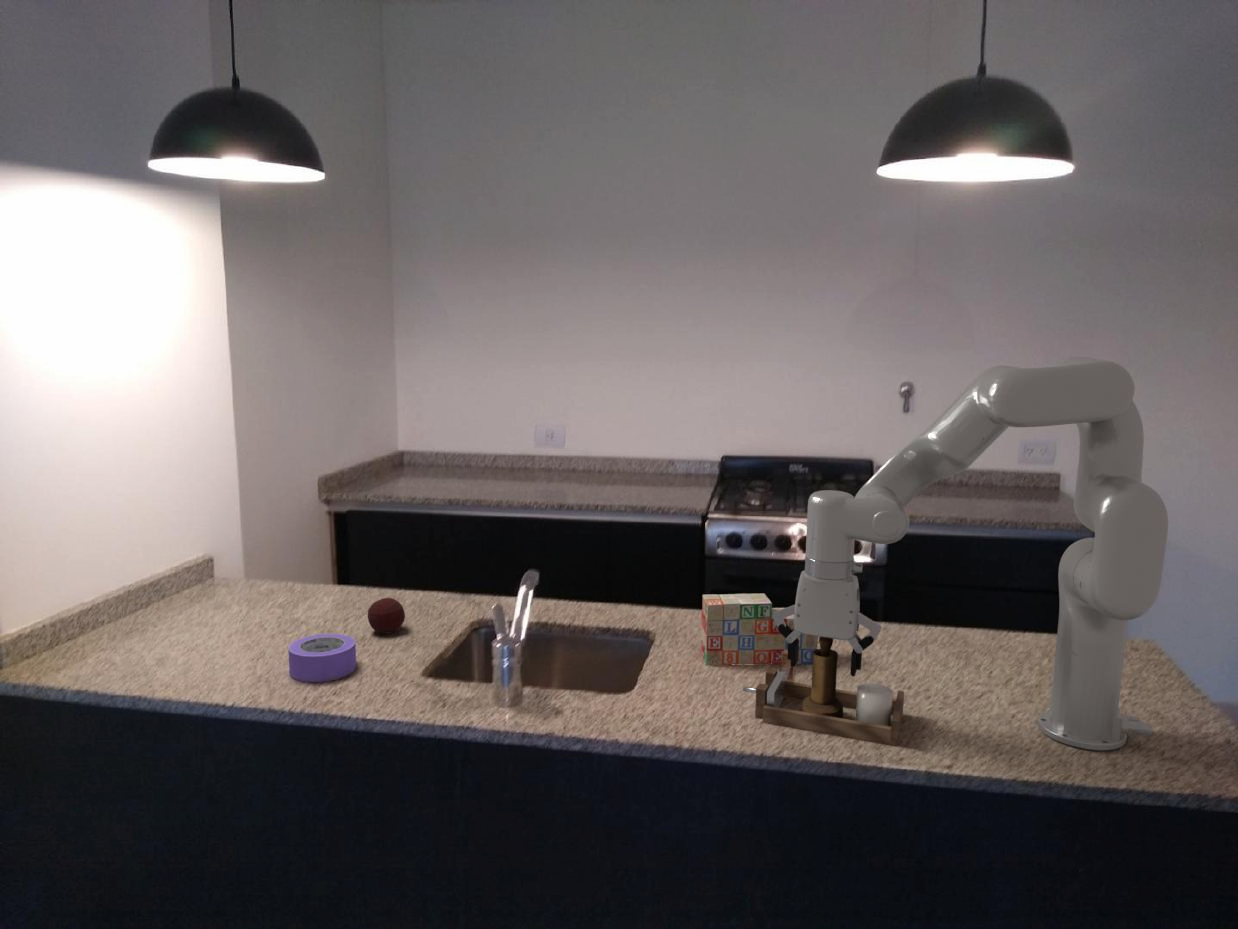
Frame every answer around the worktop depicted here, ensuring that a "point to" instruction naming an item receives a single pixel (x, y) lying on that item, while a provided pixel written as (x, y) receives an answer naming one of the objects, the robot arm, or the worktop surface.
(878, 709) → the white marshmallow
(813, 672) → the mortar and pestle
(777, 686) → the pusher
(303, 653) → the tape roll
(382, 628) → the dark red ball
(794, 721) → the lane
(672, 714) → the worktop surface
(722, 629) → the stack of blocks
